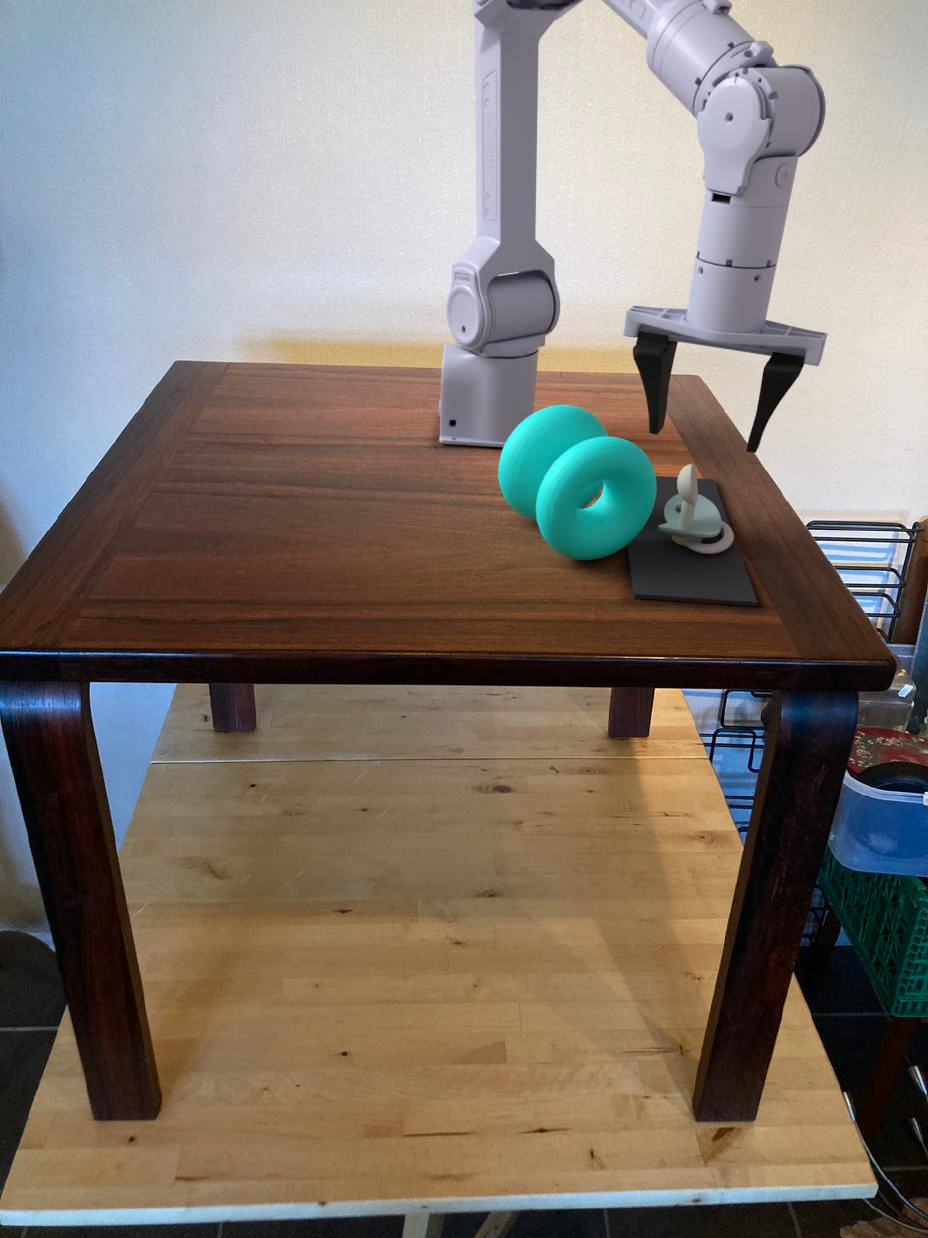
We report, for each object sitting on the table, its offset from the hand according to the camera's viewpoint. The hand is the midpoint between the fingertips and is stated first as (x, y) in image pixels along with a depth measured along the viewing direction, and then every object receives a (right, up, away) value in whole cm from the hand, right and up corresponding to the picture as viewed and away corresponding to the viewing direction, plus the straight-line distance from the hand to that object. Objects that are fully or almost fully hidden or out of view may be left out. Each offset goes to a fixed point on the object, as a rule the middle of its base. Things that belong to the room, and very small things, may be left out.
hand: (703, 438), depth 77 cm
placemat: (-1, -7, +4) cm, 8 cm away
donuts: (-10, -8, +3) cm, 13 cm away
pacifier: (0, -8, +3) cm, 8 cm away
